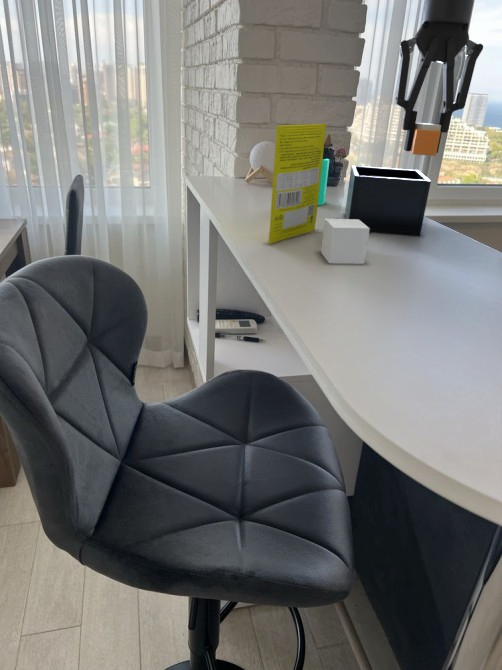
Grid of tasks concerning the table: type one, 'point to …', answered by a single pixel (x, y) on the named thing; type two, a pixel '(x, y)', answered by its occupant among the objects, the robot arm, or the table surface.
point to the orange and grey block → (425, 139)
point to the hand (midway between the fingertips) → (420, 150)
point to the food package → (296, 180)
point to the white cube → (344, 241)
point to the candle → (323, 181)
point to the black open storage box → (388, 199)
